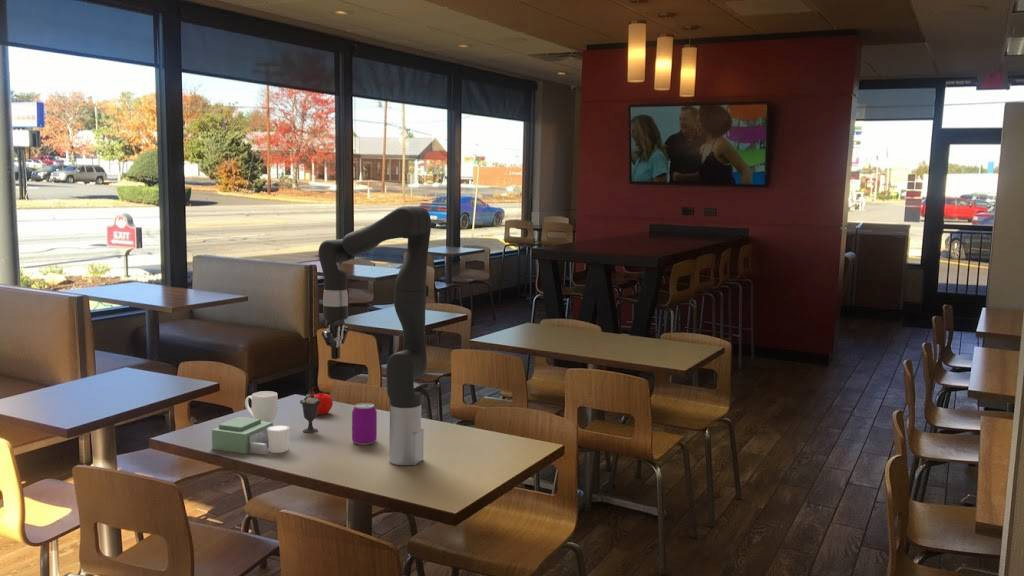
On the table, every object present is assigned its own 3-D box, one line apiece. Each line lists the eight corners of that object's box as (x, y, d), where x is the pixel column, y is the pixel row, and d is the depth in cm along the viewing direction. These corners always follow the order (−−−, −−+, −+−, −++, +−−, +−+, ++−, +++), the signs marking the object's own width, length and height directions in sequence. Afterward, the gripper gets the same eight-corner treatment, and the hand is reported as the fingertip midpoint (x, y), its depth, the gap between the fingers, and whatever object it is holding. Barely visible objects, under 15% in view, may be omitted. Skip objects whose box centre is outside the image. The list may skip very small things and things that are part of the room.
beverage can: (367, 437, 270) (367, 400, 268) (381, 442, 264) (381, 405, 263) (347, 441, 264) (347, 404, 263) (361, 447, 259) (361, 409, 258)
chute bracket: (286, 444, 260) (286, 428, 260) (264, 454, 249) (264, 438, 249) (270, 441, 262) (270, 426, 261) (248, 452, 251) (247, 436, 251)
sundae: (315, 434, 271) (315, 389, 269) (296, 432, 272) (296, 388, 271) (324, 429, 277) (324, 385, 276) (305, 427, 279) (305, 383, 277)
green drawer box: (272, 440, 263) (272, 418, 262) (245, 453, 250) (245, 430, 249) (240, 436, 267) (240, 414, 266) (212, 448, 254) (211, 425, 253)
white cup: (278, 454, 250) (278, 432, 249) (262, 450, 253) (261, 428, 252) (295, 448, 256) (295, 426, 255) (278, 445, 259) (278, 423, 258)
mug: (283, 425, 280) (282, 392, 279) (266, 432, 272) (266, 398, 271) (254, 421, 285) (254, 388, 283) (237, 427, 277) (237, 393, 276)
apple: (306, 415, 293) (306, 395, 292) (315, 410, 301) (315, 390, 300) (327, 417, 292) (327, 396, 291) (336, 411, 299) (336, 391, 299)
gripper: (335, 307, 251) (335, 363, 252) (356, 302, 263) (356, 356, 265) (313, 305, 253) (313, 361, 255) (335, 300, 265) (335, 354, 267)
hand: (335, 358), depth 260 cm, fingers closed
